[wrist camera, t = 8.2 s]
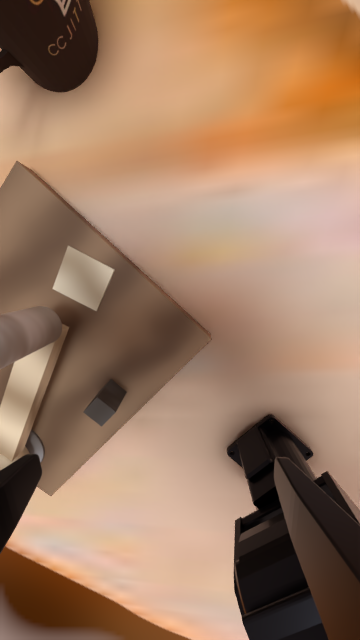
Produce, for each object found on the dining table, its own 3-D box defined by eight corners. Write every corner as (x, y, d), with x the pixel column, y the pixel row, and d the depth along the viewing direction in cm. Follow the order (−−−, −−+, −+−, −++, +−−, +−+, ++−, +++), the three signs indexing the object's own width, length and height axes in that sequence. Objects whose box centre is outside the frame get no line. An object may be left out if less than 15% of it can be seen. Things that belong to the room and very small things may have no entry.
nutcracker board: (210, 334, 20) (215, 351, 16) (59, 483, 25) (31, 527, 21) (31, 169, 18) (-22, 136, 13) (-95, 372, 23) (-162, 396, 19)
